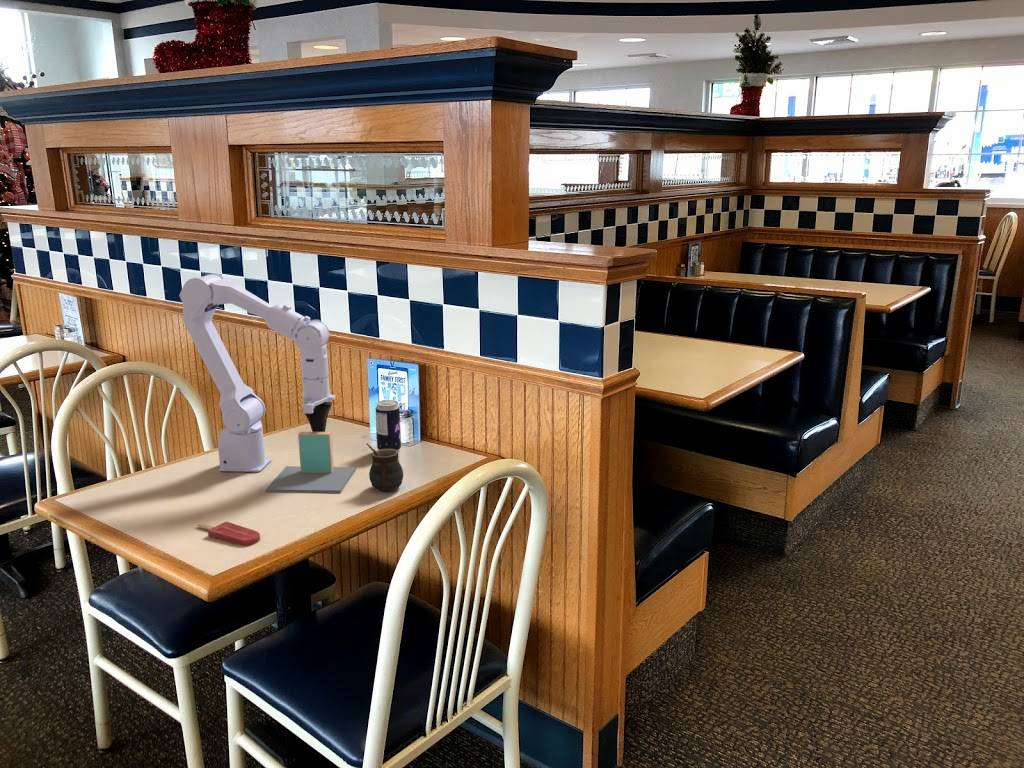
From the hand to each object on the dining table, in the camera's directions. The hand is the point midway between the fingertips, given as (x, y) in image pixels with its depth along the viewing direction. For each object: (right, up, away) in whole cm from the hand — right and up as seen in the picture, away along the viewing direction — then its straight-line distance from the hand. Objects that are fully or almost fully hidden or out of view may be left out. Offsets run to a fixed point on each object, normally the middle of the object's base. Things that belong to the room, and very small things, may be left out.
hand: (319, 435), depth 183 cm
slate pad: (0, -9, -5) cm, 11 cm away
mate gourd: (+16, -11, -9) cm, 22 cm away
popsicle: (-10, -17, -31) cm, 37 cm away
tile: (0, -8, -1) cm, 8 cm away
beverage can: (+14, -5, +14) cm, 20 cm away
